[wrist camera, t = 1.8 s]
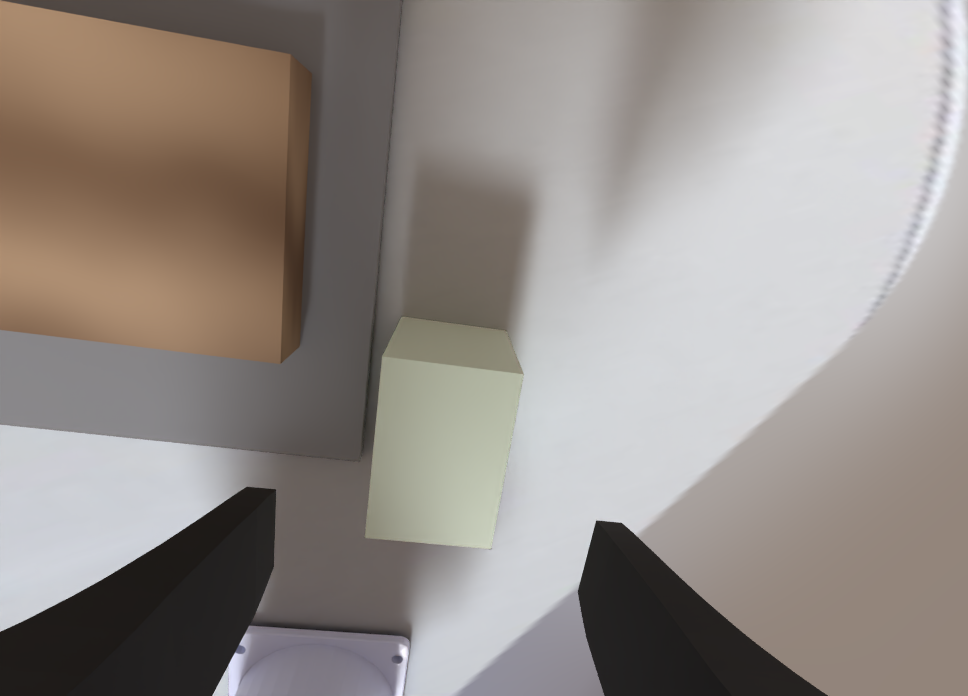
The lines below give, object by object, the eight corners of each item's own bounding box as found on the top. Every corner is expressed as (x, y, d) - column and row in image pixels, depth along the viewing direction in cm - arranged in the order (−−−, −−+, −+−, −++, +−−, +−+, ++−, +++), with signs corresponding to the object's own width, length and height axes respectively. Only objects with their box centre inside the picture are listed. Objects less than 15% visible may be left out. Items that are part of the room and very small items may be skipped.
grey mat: (361, 455, 19) (359, 461, 19) (-12, 415, 18) (-25, 421, 17) (408, -73, 14) (407, -83, 14) (-107, -184, 13) (-128, -199, 12)
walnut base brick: (299, 346, 17) (280, 363, 15) (34, 312, 16) (-22, 327, 14) (311, 73, 15) (290, 54, 13) (-1, 16, 14) (-74, -14, 12)
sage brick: (482, 466, 20) (490, 549, 15) (386, 456, 19) (364, 537, 15) (506, 329, 18) (523, 374, 13) (401, 315, 18) (381, 356, 13)
